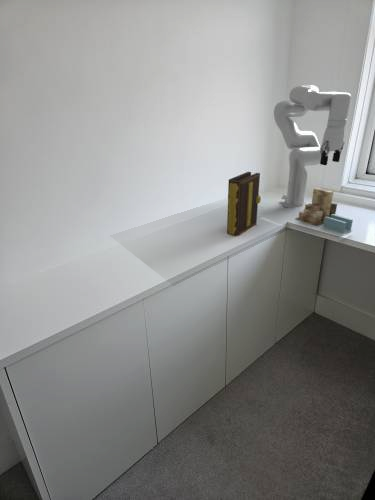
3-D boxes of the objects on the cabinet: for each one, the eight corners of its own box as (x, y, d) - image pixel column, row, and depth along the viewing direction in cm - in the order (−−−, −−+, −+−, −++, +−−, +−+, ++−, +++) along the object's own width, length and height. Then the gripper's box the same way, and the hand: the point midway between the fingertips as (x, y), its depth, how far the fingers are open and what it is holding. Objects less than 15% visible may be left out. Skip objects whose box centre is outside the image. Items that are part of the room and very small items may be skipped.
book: (239, 237, 146) (242, 182, 136) (223, 233, 151) (224, 179, 140) (261, 222, 162) (265, 172, 151) (245, 219, 167) (248, 170, 156)
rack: (293, 220, 163) (296, 203, 159) (311, 214, 170) (313, 197, 166) (316, 228, 153) (319, 210, 149) (333, 221, 160) (337, 203, 156)
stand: (320, 229, 152) (322, 217, 149) (332, 225, 156) (334, 213, 154) (340, 236, 144) (343, 223, 142) (351, 231, 149) (354, 219, 146)
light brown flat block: (309, 215, 166) (313, 188, 160) (312, 214, 167) (316, 187, 161) (325, 220, 159) (330, 192, 153) (328, 219, 160) (333, 191, 154)
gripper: (339, 121, 150) (332, 159, 158) (317, 124, 141) (311, 164, 149) (355, 123, 145) (347, 161, 153) (333, 126, 136) (326, 167, 144)
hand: (329, 163), depth 151 cm, fingers open, 9 cm apart
